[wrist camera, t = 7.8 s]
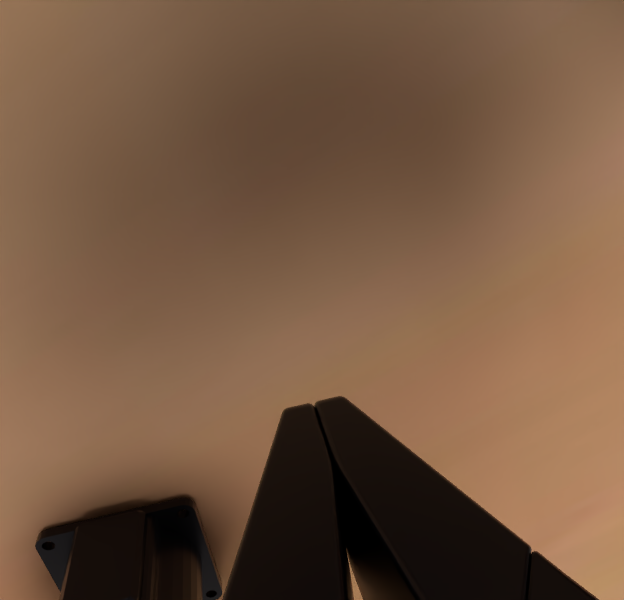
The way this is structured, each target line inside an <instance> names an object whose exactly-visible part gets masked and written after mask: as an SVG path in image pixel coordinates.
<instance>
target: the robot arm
mask: <svg viewBox="0 0 624 600" xmlns="http://www.w3.org/2000/svg"><path fill="white" fill-rule="evenodd" d="M181 509H186V510H183V511H181ZM35 547H36V550H37V551H38V553H39V555H40V557H41V559H42V560H43V562H44V564H45V566H46V567H47V569H48V571H49V573H50V574H51V576H52V578H53V580H54V582H55V583H56V585H57V587H58V589H59V590H60V592H61V593H60V598H59V600H216V599H218V598H219V597H221V595H222V583H221V580H220V577H219V574H218V571H217V568H216V565H215V562H214V559H213V556H212V553H211V550H210V547H209V544H208V541H207V538H206V535H205V532H204V529H203V526H202V523H201V520H200V517H199V514H198V511H197V508H196V505H195V503H194V501H193V500H191V499H190V498H179V499H174V500H170V501H166V502H162V503H157V504H153V505H149V506H145V507H141V508H136V509H132V510H128V511H124V512H119V513H115V514H111V515H107V516H103V517H98V518H94V519H90V520H86V521H81V522H77V523H73V524H69V525H65V526H60V527H56V528H52V529H48V530H45V531H42V532H41V533H40V534H39V535H38V538H37V541H36V545H35ZM347 554H348V556H347ZM348 558H349V561H350V565H351V568H352V570H353V573H354V576H355V579H356V582H357V584H358V587H359V589H360V592H361V595H362V597H363V600H599V599H597V598H596V597H595V596H594V595H592V594H591V593H590V592H588V591H587V590H586V589H584V588H583V587H582V586H580V585H579V584H578V583H576V582H575V581H574V580H573V579H571V578H570V577H569V576H567V575H566V574H565V573H563V572H562V571H561V570H560V569H558V568H557V567H556V566H555V565H553V564H552V563H551V562H550V561H549V560H547V559H546V558H545V557H544V556H542V555H541V554H540V553H539V552H537V551H534V552H532V553H531V547H530V546H529V545H528V544H527V543H526V542H525V541H523V540H522V539H521V538H520V537H518V536H517V535H516V534H515V533H513V532H512V531H511V530H510V529H508V528H507V527H506V526H505V525H503V524H502V523H501V522H500V521H498V520H497V519H496V518H495V517H493V516H492V515H491V514H490V513H488V512H487V511H486V510H485V509H483V508H482V507H481V506H480V505H478V504H477V503H476V502H475V501H473V500H472V499H471V498H470V497H468V496H467V495H466V494H465V493H463V492H462V491H461V490H460V489H458V488H457V487H456V486H455V485H453V484H452V483H451V482H450V481H448V480H447V479H446V478H445V477H443V476H442V475H441V474H440V473H438V472H437V471H436V470H435V469H433V468H432V467H431V466H430V465H428V464H427V463H426V462H425V461H423V460H422V459H421V458H420V457H418V456H417V455H416V454H415V453H413V452H412V451H411V450H410V449H408V448H407V447H406V446H405V445H403V444H402V443H401V442H400V441H398V440H397V439H396V438H395V437H393V436H392V435H391V434H390V433H389V432H387V431H386V430H385V429H384V428H382V427H381V426H380V425H379V424H377V423H376V422H375V421H374V420H372V419H371V418H370V417H369V416H367V415H366V414H365V413H364V412H362V411H361V410H360V409H359V408H357V407H356V406H355V405H354V404H352V403H351V402H350V401H349V400H347V399H346V398H345V397H342V396H338V397H333V398H329V399H325V400H320V401H317V402H316V403H315V405H314V406H313V405H312V404H310V403H307V404H303V405H298V406H294V407H290V408H286V409H285V410H284V411H283V413H282V415H281V418H280V421H279V424H278V428H277V431H276V434H275V437H274V440H273V443H272V446H271V449H270V452H269V456H268V459H267V462H266V465H265V468H264V471H263V474H262V477H261V481H260V484H259V487H258V490H257V493H256V496H255V499H254V502H253V506H252V509H251V512H250V515H249V518H248V521H247V524H246V527H245V531H244V534H243V537H242V540H241V543H240V546H239V549H238V552H237V555H236V559H235V562H234V565H233V568H232V571H231V574H230V577H229V580H228V584H227V587H226V590H225V593H224V596H223V599H222V600H354V597H353V589H352V581H351V575H350V569H349V562H348Z"/></svg>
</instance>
